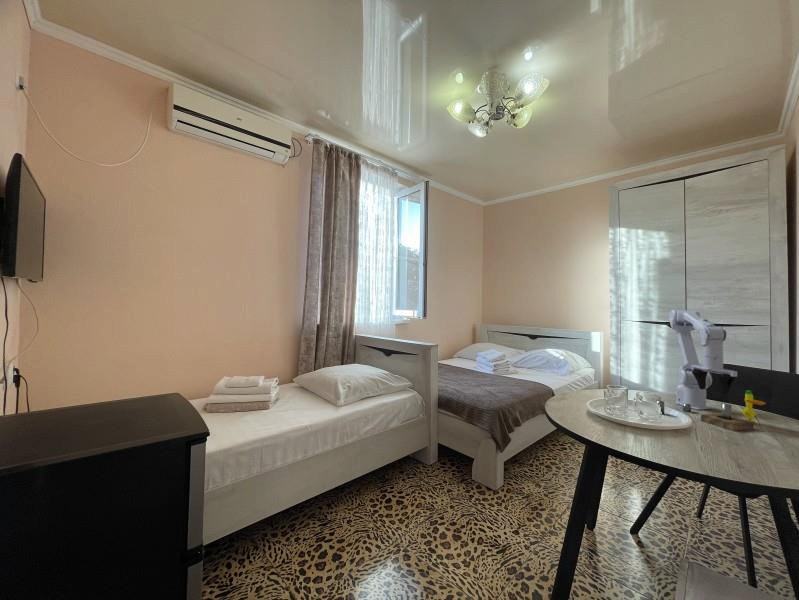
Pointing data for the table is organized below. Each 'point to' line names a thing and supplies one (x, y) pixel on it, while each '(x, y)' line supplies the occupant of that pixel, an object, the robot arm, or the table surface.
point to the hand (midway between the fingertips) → (713, 391)
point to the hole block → (727, 422)
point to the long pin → (726, 411)
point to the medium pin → (661, 405)
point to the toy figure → (750, 406)
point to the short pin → (686, 407)
